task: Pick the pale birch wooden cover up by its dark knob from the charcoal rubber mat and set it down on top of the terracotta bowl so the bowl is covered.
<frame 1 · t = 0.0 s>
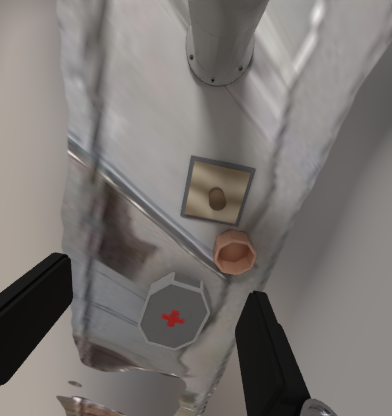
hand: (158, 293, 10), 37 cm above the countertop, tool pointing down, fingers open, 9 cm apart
first aid kit: (176, 297, 59), on the countertop
bowl: (232, 246, 51), on the countertop
mat: (215, 192, 46), on the countertop
cover: (215, 193, 45), point 1 cm above the countertop, touching mat
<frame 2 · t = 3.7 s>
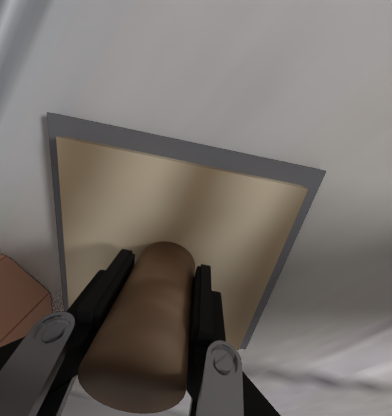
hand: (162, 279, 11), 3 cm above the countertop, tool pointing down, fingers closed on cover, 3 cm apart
mat: (170, 253, 13), on the countertop
cover: (169, 258, 12), point 1 cm above the countertop, touching gripper, mat
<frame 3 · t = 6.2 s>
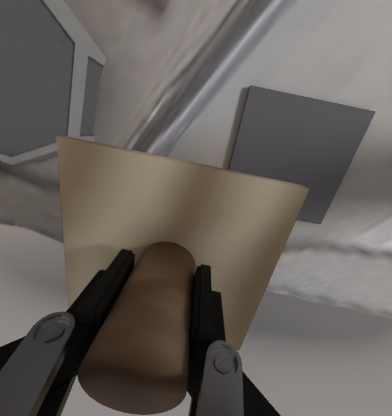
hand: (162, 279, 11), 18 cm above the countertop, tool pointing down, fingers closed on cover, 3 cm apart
first aid kit: (20, 73, 23), on the countertop
mat: (287, 162, 25), on the countertop
cover: (169, 258, 12), point 16 cm above the countertop, touching gripper
when the fingers open (8 cm above the countertop, at t = 8.8 s): cover drops 1 cm, resting on bowl.
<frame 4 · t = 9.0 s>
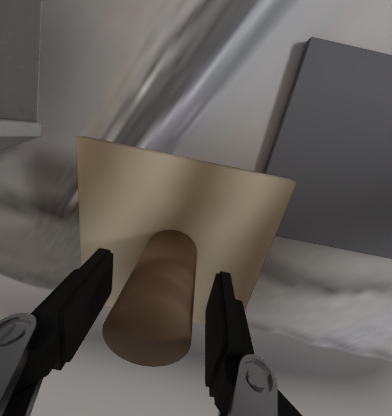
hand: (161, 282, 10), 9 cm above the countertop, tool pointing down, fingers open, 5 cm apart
mat: (355, 167, 16), on the countertop
cover: (173, 246, 14), point 5 cm above the countertop, touching bowl
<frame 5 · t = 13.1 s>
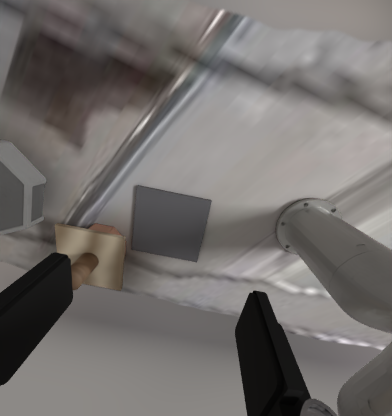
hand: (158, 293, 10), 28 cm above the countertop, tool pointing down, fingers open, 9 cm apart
bowl: (104, 244, 42), on the countertop
mat: (169, 225, 40), on the countertop
cover: (92, 257, 38), point 5 cm above the countertop, touching bowl
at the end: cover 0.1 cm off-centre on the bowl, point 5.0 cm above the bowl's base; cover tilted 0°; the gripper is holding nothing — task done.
